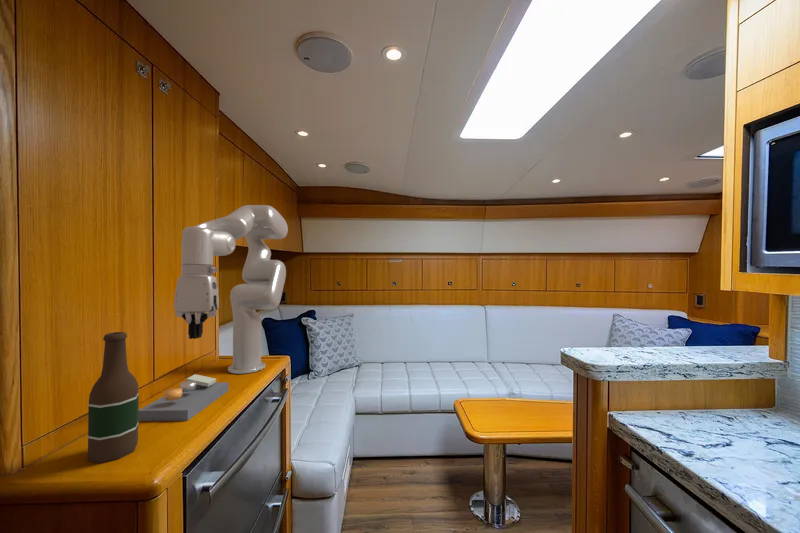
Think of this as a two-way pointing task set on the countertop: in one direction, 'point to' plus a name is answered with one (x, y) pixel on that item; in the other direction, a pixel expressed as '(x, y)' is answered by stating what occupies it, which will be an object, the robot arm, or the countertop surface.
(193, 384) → the button metal
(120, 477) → the countertop surface
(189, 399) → the panel
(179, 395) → the button orange
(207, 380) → the block
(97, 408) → the beer bottle
